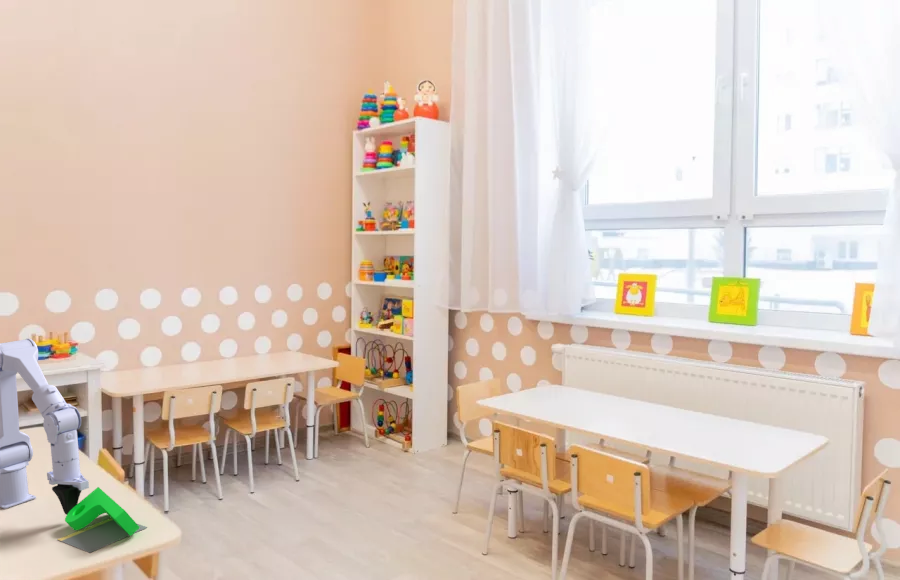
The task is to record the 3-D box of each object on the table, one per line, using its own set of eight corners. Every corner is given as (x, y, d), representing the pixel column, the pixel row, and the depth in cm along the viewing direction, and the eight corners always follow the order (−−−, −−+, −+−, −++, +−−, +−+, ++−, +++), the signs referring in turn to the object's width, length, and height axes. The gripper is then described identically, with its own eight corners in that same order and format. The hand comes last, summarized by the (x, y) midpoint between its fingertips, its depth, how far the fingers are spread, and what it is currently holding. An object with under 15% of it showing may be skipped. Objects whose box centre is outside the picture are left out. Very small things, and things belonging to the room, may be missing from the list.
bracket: (81, 537, 167) (61, 517, 164) (116, 506, 172) (98, 486, 169) (105, 565, 152) (84, 543, 149) (143, 531, 158) (124, 509, 154)
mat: (57, 539, 158) (57, 539, 158) (114, 516, 170) (114, 516, 170) (89, 552, 151) (89, 552, 151) (147, 527, 163) (147, 527, 163)
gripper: (32, 459, 166) (37, 513, 167) (65, 468, 158) (70, 525, 160) (61, 450, 172) (66, 502, 173) (95, 459, 164) (99, 514, 166)
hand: (70, 512), depth 167 cm, fingers closed
